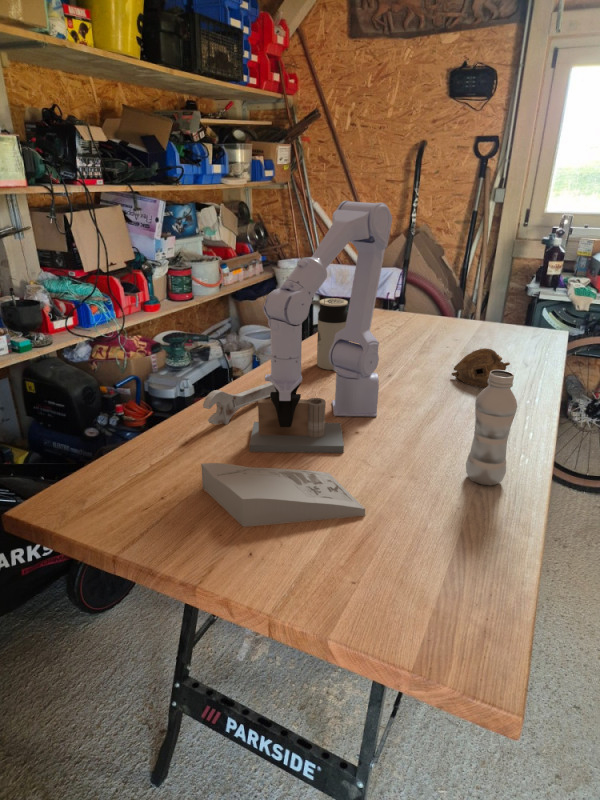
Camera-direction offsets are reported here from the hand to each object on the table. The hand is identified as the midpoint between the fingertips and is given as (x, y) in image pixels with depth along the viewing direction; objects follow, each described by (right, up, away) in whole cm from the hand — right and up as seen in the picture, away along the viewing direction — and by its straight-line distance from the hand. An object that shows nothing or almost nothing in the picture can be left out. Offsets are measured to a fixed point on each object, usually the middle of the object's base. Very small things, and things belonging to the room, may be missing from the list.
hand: (286, 420), depth 104 cm
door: (+1, -3, +1) cm, 3 cm away
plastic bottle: (+35, -10, -11) cm, 38 cm away
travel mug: (+11, +13, +42) cm, 46 cm away
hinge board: (+2, -4, +2) cm, 5 cm away
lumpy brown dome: (+52, +11, +38) cm, 66 cm away
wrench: (-8, +2, +16) cm, 18 cm away
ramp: (0, -13, -18) cm, 22 cm away
